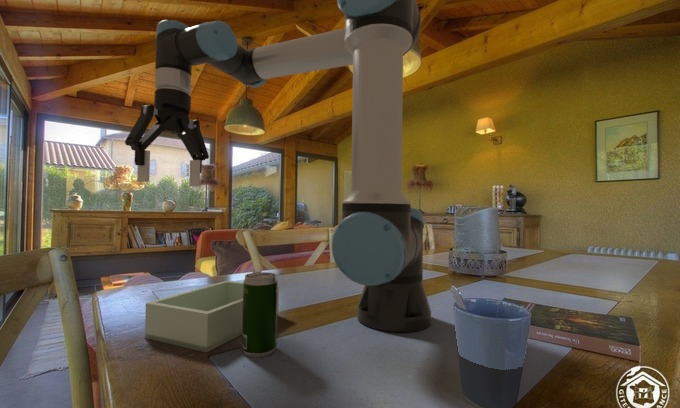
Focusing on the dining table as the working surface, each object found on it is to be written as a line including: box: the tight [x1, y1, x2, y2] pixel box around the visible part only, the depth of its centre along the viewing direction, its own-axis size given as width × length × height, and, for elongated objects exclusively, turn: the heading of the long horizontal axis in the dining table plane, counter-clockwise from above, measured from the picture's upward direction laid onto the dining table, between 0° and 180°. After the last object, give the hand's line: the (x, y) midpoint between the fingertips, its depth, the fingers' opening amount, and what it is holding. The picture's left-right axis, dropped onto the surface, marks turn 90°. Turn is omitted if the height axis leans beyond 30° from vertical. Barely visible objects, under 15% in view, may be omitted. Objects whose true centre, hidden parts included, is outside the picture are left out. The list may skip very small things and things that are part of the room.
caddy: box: [144, 280, 280, 353], centre depth 63 cm, size 14×20×6 cm
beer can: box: [241, 271, 279, 358], centre depth 52 cm, size 5×5×12 cm
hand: (171, 184), depth 75 cm, fingers open, 13 cm apart
